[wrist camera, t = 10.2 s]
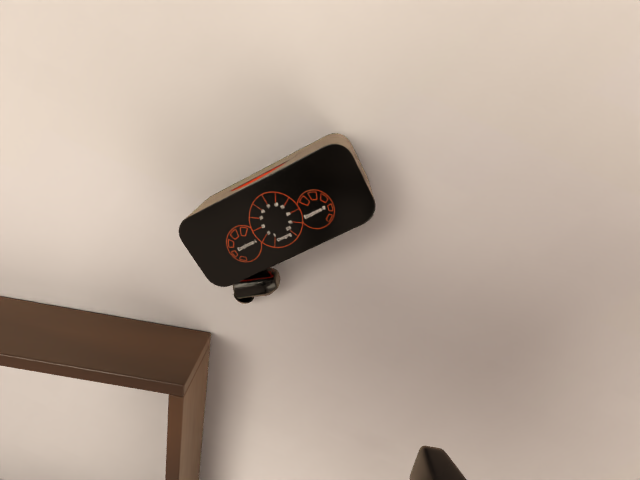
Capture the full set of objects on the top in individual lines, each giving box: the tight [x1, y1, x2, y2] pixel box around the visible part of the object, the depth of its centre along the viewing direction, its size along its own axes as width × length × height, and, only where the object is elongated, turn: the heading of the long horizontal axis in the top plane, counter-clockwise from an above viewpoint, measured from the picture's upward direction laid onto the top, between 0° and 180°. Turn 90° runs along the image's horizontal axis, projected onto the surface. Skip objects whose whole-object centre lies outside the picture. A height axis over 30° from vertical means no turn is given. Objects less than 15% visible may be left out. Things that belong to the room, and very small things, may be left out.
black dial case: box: [179, 133, 375, 304], centre depth 15 cm, size 5×7×3 cm, turn 117°
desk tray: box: [0, 297, 211, 480], centre depth 19 cm, size 13×16×4 cm
